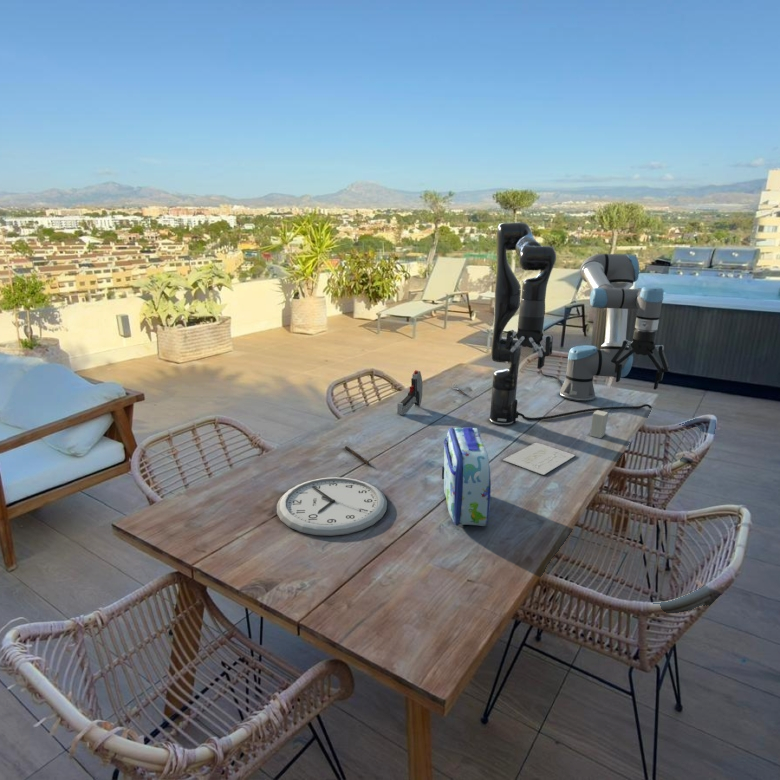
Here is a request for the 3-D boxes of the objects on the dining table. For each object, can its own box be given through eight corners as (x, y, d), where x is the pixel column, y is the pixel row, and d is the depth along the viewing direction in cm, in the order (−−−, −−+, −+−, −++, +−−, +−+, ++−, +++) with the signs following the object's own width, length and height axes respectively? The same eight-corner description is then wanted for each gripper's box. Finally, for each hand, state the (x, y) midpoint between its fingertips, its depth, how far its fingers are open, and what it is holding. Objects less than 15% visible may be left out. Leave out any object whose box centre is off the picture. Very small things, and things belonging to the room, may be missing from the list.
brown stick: (344, 448, 179) (344, 445, 179) (346, 448, 179) (346, 445, 179) (367, 464, 167) (367, 462, 167) (368, 464, 167) (368, 461, 167)
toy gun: (396, 378, 207) (417, 368, 219) (397, 416, 213) (418, 404, 224) (401, 379, 206) (422, 369, 217) (402, 417, 212) (422, 405, 223)
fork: (463, 397, 236) (463, 392, 235) (450, 386, 250) (450, 382, 250) (468, 396, 236) (469, 392, 236) (455, 386, 251) (455, 382, 250)
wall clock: (392, 527, 129) (268, 531, 127) (391, 533, 130) (269, 537, 127) (383, 473, 158) (282, 475, 155) (383, 478, 158) (282, 480, 156)
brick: (589, 435, 194) (592, 413, 192) (593, 431, 198) (596, 410, 195) (601, 438, 192) (604, 415, 189) (604, 434, 196) (608, 412, 193)
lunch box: (439, 484, 155) (443, 418, 149) (476, 485, 155) (480, 418, 149) (448, 533, 130) (452, 456, 124) (491, 534, 130) (497, 457, 124)
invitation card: (535, 442, 186) (575, 454, 176) (535, 442, 187) (575, 455, 176) (502, 459, 172) (543, 474, 162) (502, 460, 172) (543, 475, 162)
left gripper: (504, 313, 160) (500, 364, 164) (549, 318, 151) (544, 372, 156) (514, 310, 165) (510, 360, 170) (559, 315, 157) (553, 367, 162)
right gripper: (607, 326, 197) (599, 380, 203) (680, 336, 182) (669, 394, 189) (613, 323, 202) (606, 376, 209) (685, 333, 187) (674, 389, 194)
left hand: (526, 365), depth 163 cm, fingers open, 8 cm apart
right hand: (636, 384), depth 199 cm, fingers open, 13 cm apart
